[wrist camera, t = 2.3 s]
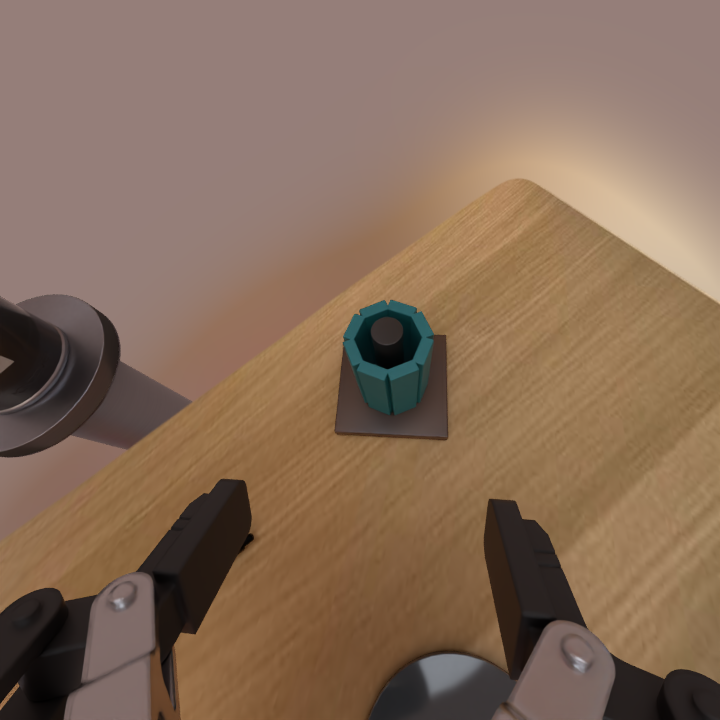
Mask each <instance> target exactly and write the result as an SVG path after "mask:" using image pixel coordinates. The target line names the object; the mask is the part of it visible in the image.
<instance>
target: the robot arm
mask: <svg viewBox="0 0 720 720" xmlns="http://www.w3.org/2000/svg"><path fill="white" fill-rule="evenodd" d="M68 353H69V344H68V340H67V337H66V335H65V334H64V332H63V331H62V330H61V329H60V328H58V327H57V326H55V325H53V324H51V323H50V322H47V321H44V320H42V319H40V318H38V317H37V316H35V315H33V314H31V313H29V312H28V311H26V310H24V309H22V308H21V307H19V306H17V305H15V304H14V303H12V302H10V301H8V300H6V299H5V298H3V297H1V296H0V414H9V413H13V412H16V411H19V410H22V409H24V408H26V407H28V406H30V405H31V404H33V403H35V402H36V401H37V400H39V399H40V398H41V397H42V396H44V395H45V394H46V393H47V392H48V391H49V390H50V389H51V388H52V387H53V385H54V384H55V383H56V381H57V380H58V379H59V377H60V375H61V374H62V372H63V370H64V368H65V365H66V362H67V359H68ZM251 520H252V516H251V509H250V504H249V498H248V492H247V487H246V483H245V481H243V480H232V479H221V480H219V481H218V483H217V484H216V485H215V487H214V488H213V489H212V491H211V492H210V493H209V494H205V493H204V494H202V495H201V496H200V497H198V498H197V499H196V500H194V501H193V502H192V503H190V504H189V505H188V507H187V508H186V509H185V510H184V512H183V513H182V514H181V515H180V518H179V519H177V521H176V522H175V523H174V524H173V526H172V527H171V530H169V531H168V532H167V533H166V535H165V536H164V537H163V538H162V540H161V541H160V542H159V543H158V545H157V546H156V547H155V548H154V550H153V551H152V552H151V554H150V555H149V556H148V557H147V559H146V560H145V561H144V562H143V564H142V565H141V566H140V568H139V569H138V570H137V571H136V572H133V573H129V574H126V575H123V576H121V577H119V578H117V579H115V580H114V581H112V582H111V583H109V584H108V585H107V586H106V587H105V588H103V590H102V591H101V592H100V593H99V594H98V595H94V596H89V597H84V598H79V599H74V600H69V601H64V599H63V597H62V595H61V593H60V591H59V590H57V589H55V588H44V589H39V590H36V591H33V592H31V593H29V594H27V595H25V596H23V597H21V598H19V599H18V600H16V601H15V602H13V603H12V604H11V605H9V606H8V607H7V608H6V609H5V610H4V611H3V612H1V613H0V703H1V702H2V701H3V700H4V698H5V697H6V696H7V695H8V693H9V692H10V691H11V690H12V688H13V687H14V686H15V685H16V683H17V682H18V684H19V685H20V686H19V688H18V689H17V690H16V691H15V693H14V694H13V695H12V697H11V698H10V699H9V700H8V702H7V703H6V704H5V705H4V707H3V708H2V709H1V710H0V720H181V717H180V705H179V692H178V679H177V667H176V654H175V647H174V643H175V642H176V640H177V638H178V636H179V635H180V633H181V632H182V633H189V634H196V632H197V630H198V628H199V627H200V625H201V623H202V621H203V619H204V617H205V615H206V613H207V611H208V609H209V608H210V606H211V604H212V602H213V600H214V598H215V596H216V594H217V592H218V591H219V589H220V587H221V585H222V583H223V581H224V579H225V577H226V575H227V573H228V572H229V570H230V568H231V566H232V564H233V562H234V560H235V558H236V556H237V554H238V553H239V551H240V549H241V547H242V545H243V543H244V541H245V539H246V537H247V535H248V533H249V530H250V527H251ZM484 552H485V559H486V564H487V569H488V574H489V579H490V584H491V589H492V593H493V598H494V603H495V608H496V613H497V618H498V623H499V628H500V632H501V637H502V642H503V647H504V652H505V657H506V662H507V667H508V671H509V676H510V679H511V680H518V681H517V683H516V685H515V687H514V689H513V691H512V692H511V694H510V696H509V698H508V700H507V701H506V702H505V703H504V702H502V703H501V704H500V706H499V707H498V709H497V710H496V712H495V714H494V716H493V717H492V719H491V720H720V684H718V683H717V682H715V681H713V680H712V679H710V678H708V677H706V676H704V675H702V674H700V673H697V672H694V671H690V670H684V669H679V670H674V671H671V672H670V673H669V674H668V675H667V676H666V678H665V679H663V678H661V677H658V676H656V675H654V674H651V673H649V672H647V671H644V670H642V669H639V668H637V667H635V666H632V665H630V664H628V663H626V662H624V661H622V660H620V659H619V658H617V657H615V656H614V655H613V654H611V653H610V652H609V651H608V649H607V648H606V647H605V645H604V644H603V643H602V642H601V641H600V639H599V638H598V637H597V636H595V635H594V634H593V633H592V632H590V631H589V630H588V628H587V626H586V624H585V622H584V620H583V617H582V615H581V613H580V610H579V608H578V605H577V603H576V601H575V598H574V596H573V593H572V591H571V589H570V586H569V584H568V582H567V579H566V577H565V574H564V572H563V570H562V569H561V565H560V562H559V560H558V558H557V555H555V550H554V548H553V546H552V543H551V541H550V538H549V536H548V534H547V533H546V532H545V531H544V530H543V529H542V528H541V527H540V525H539V524H538V523H537V522H536V521H535V520H525V519H522V517H521V515H520V512H519V509H518V506H517V504H516V502H515V501H513V500H499V499H489V501H488V507H487V515H486V524H485V532H484Z"/></svg>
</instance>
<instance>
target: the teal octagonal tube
mask: <svg viewBox="0 0 720 720" xmlns="http://www.w3.org/2000/svg"><path fill="white" fill-rule="evenodd" d="M359 311H360V315H357V314H354V316H353V318H352V320H351V322H350V324H349V326H348V328H347V330H346V332H345V334H344V336H343V338H344V340H345V342H343V345H344V348H345V351H346V353H347V356H348V359H349V362H350V364H351V367H352V370H353V373H354V376H355V378H356V381H357V384H358V386H359V389H360V391H361V394H362V396H363V399H364V401H365V403H368V406H369V407H370V408H373V409H375V410H378V411H380V412H383V413H385V414H388V415H390V414H391V412H392V410H393V412H394V415H397V414H400V413H402V412H405V411H407V410H410V409H412V408H415V407H416V403H417V402H418V403H420V402H421V399H422V397H423V394H424V392H425V389H426V387H427V384H428V378H429V371H430V364H431V357H432V351H433V344H434V340H433V336H434V334H433V332H432V330H431V328H430V326H429V324H428V322H427V320H426V319H425V317H424V315H423V313H422V312H418V313H417V308H416V307H413V306H409V305H406V304H403V303H400V302H397V301H393V300H390V302H389V304H388V305H387V303H386V301H385V300H383V301H381V302H378V303H376V304H373V305H370V306H368V307H365V308H363V309H360V310H359ZM383 317H392V318H394V319H396V320H398V321H399V322H400V323H401V325H402V327H403V348H404V362H405V363H403V364H400V365H398V366H395V367H393V368H390V369H388V370H387V369H385V368H382V367H379V366H377V365H375V364H377V362H376V357H375V352H374V347H373V342H372V336H371V328H372V326H373V324H374V323H375V322H376V321H377V320H378V319H380V318H383Z"/></svg>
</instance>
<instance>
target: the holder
mask: <svg viewBox="0 0 720 720" xmlns="http://www.w3.org/2000/svg"><path fill="white" fill-rule="evenodd" d="M371 336H372V342H373V347H374V352H375V357H376V362H377V364H375V365H377V366H379V367H382V368H385V369H387V370H388V369H390V368H393V367H395V366H398V365H400V364H403V363H405V362H404V348H403V327H402V325H401V323H400V322H399V321H398V320H396V319H394V318H392V317H383V318H380V319H378V320H377V321H376V322H375V323H374V324H373V326H372V328H371ZM433 340H434V344H433V351H432V357H431V364H430V371H429V378H428V384H427V387H426V389H425V392H424V394H423V397H422V399H421V402H420V403H418V402H417V403H416V407H415V408H412V409H410V410H407V411H405V412H402V413H400V414H397V415H394V412H393V410H392V412H391V414H390V415H388V414H385V413H383V412H380V411H378V410H375V409H373V408H370V407H369V406H368V403H365V401H364V399H363V396H362V394H361V391H360V389H359V386H358V384H357V381H356V378H355V376H354V373H353V370H352V367H351V364H350V362H349V359H348V356H347V353H346V351H345V348H344V347H343V356H342V366H341V375H340V385H339V394H338V404H337V414H336V423H335V433H336V434H340V435H359V436H378V437H398V438H417V439H436V440H447V438H448V416H447V362H446V335H434V336H433ZM344 342H345V340H344Z"/></svg>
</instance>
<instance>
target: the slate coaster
mask: <svg viewBox="0 0 720 720" xmlns="http://www.w3.org/2000/svg"><path fill="white" fill-rule="evenodd" d="M516 683H517V681H516V680H511V679H510V676H509V674H508V673H507V672H506V671H504V670H503V669H501V668H500V667H498V666H497V665H495V664H493V663H492V662H490V661H487V660H485V659H483V658H481V657H479V656H475V655H472V654H469V653H464V652H458V651H440V652H434V653H429V654H426V655H423V656H420V657H418V658H416V659H414V660H413V661H411V662H409V663H407V664H406V665H405V666H403V667H402V668H401V669H399V670H398V671H397V672H396V673H395V674H394V675H393V676H392V677H391V678H390V679H389V681H388V682H387V683H386V685H385V686H384V687H383V689H382V690H381V692H380V694H379V696H378V697H377V699H376V701H375V703H374V705H373V707H372V710H371V712H370V715H369V717H368V720H491V719H492V717H493V716H494V714H495V712H496V710H497V709H498V707H499V706H500V704H501V703H502V702H504V703H505V702H506V701H507V700H508V698H509V696H510V694H511V692H512V691H513V689H514V687H515V685H516Z"/></svg>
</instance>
